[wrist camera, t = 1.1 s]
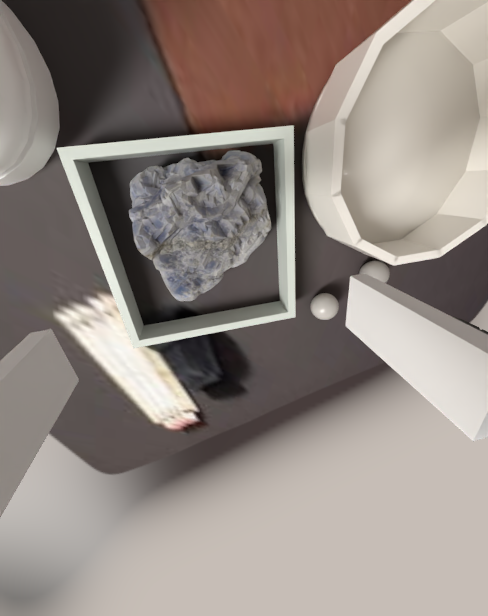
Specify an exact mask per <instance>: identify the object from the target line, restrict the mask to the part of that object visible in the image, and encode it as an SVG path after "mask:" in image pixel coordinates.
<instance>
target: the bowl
mask: <svg viewBox="0 0 488 616" xmlns="http://www.w3.org/2000/svg"><path fill="white" fill-rule="evenodd" d="M301 166H302V181H303V187H304V193H305V196H306V200H307V203H308V206H309V208H310V210H311V213H312V215H313V216H314V218H315V220H316V221H317V223H318V224H319V225H320V227H321V228H322V229H323V230H324V231H325V233H326V234H327V236H329V237H331V238H333V239H335V240H337V241H338V242H340V243H343V244H345V245H347V246H349V247H351V248H353V249H355V250H357V251H360V252H362V253H364V254H366V255H369V256H371V257H374V258H376V259H379V260H381V261H384V262H386V263H388V264H391V265H393V266H394V265H399V264H405V263H410V262H416V261H422V260H428V259H433V258H439V257H441V256H442V255H444V254H445V253H447V252H448V251H449V250H451V249H452V248H454V247H455V246H457V245H458V244H460V243H461V242H462V241H464V240H465V239H467V238H468V237H470V236H471V235H472V234H474V233H475V232H477V231H478V230H480V229H481V228H483V227H484V226H485V225H487V223H488V0H412V1H411V2H410V3H408V4H407V5H406V6H405V7H403V8H402V9H401V10H400V11H399V12H397V13H396V14H395V15H394V16H393V17H391V18H390V19H389V20H388V21H387V22H385V23H384V24H383V25H382V26H381V27H380V28H378V29H377V30H376V31H375V32H374V33H373V34H371V35H370V36H369V37H368V38H367V39H366V40H364V41H363V42H362V43H361V44H360V45H358V46H357V47H356V48H355V49H354V50H353V51H352V52H350V53H349V54H348V55H347V56H346V57H345V58H343V59H342V60H341V61H340V62H339V63H338V64H336V66H335V68H334V70H333V73H332V74H331V76H330V77H329V79H328V81H327V82H326V84H325V85H324V87H323V89H322V91H321V93H320V95H319V97H318V99H317V101H316V103H315V105H314V108H313V110H312V113H311V115H310V118H309V121H308V125H307V129H306V133H305V137H304V143H303V149H302V165H301Z"/></svg>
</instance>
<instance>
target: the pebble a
mask: <svg viewBox="0 0 488 616" xmlns="http://www.w3.org/2000/svg"><path fill="white" fill-rule="evenodd" d="M338 309H339V304H338V301H337V299H336V298H335V297H334V296H333V295H331V294H328V293H321V294H318V295H317V296H315V297H314V298H313V300H312V302H311V311H312V313H313V315H314V316H315V317H317V318H319V319H321V320H328V319H331V318H333V317H334V316H335V315H336V314H337V312H338Z"/></svg>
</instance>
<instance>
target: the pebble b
mask: <svg viewBox="0 0 488 616" xmlns="http://www.w3.org/2000/svg"><path fill="white" fill-rule="evenodd" d="M359 274H367V275H369V276H371V277H373V278H375V279H377V280H379V281H381V282H383V283H386V282H387V281H388V279H389V276H390V271H389V268H388V267H387V265H386V264H384V263H383V262H380V261H370V262H368V263H366V264H364V265H363V266H362V267H361V269H360V271H359Z"/></svg>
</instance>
